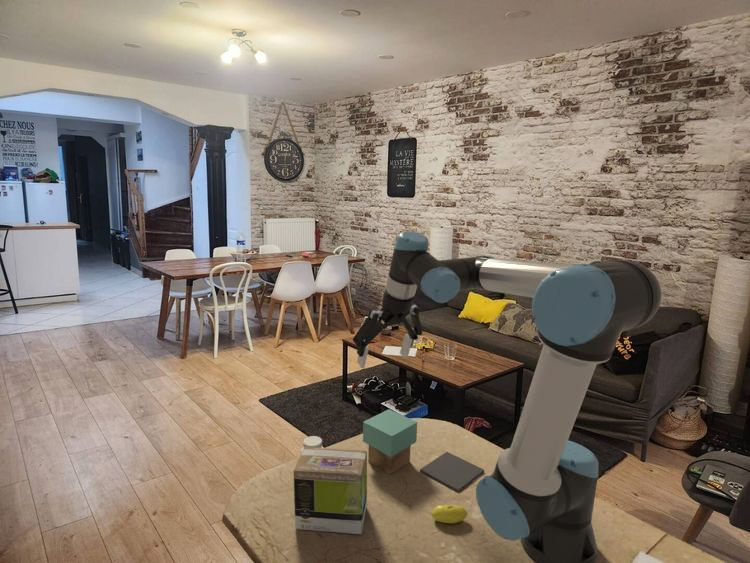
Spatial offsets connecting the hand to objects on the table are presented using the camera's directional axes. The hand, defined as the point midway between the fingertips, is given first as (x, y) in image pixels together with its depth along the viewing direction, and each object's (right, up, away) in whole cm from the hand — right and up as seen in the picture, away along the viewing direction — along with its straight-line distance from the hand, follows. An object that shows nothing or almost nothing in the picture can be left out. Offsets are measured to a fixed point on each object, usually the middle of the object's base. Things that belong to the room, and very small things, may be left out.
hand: (382, 360), depth 132 cm
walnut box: (+2, -28, +2) cm, 28 cm away
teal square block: (+2, -22, +1) cm, 22 cm away
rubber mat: (+18, -29, -2) cm, 34 cm away
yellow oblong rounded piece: (+15, -34, -20) cm, 42 cm away
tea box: (-12, -33, -20) cm, 40 cm away
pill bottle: (-18, -30, -6) cm, 35 cm away
